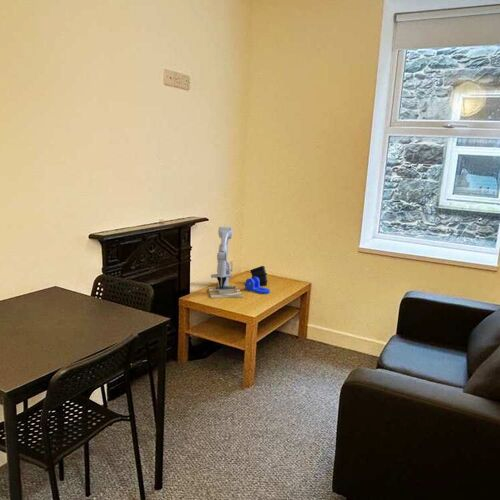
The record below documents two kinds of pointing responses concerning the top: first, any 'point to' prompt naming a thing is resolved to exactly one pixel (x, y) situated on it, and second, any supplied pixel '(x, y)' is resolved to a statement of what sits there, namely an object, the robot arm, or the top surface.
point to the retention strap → (225, 287)
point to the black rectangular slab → (260, 275)
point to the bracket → (255, 286)
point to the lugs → (233, 289)
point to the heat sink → (225, 290)
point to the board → (217, 295)
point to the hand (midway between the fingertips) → (221, 287)
